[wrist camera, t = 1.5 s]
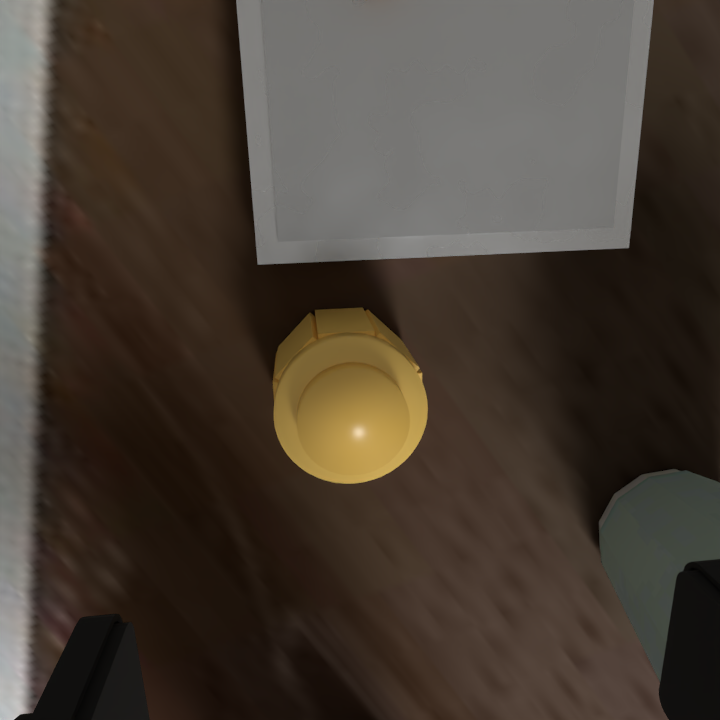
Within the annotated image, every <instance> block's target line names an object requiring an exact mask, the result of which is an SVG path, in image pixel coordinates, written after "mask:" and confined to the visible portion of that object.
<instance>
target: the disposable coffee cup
mask: <svg viewBox="0 0 720 720" xmlns="http://www.w3.org/2000/svg"><path fill="white" fill-rule="evenodd" d="M599 542H600V551H601V563H602V565H603V567H604V569H605V571H606V573H607V575H608V577H609V579H610V581H611V583H612V585H613V587H614V589H615V591H616V593H617V595H618V597H619V599H620V601H621V604H622V606H623V608H624V610H625V612H626V614H627V616H628V618H629V620H630V622H631V624H632V626H633V628H634V630H635V632H636V634H637V636H638V638H639V640H640V642H641V644H642V646H643V648H644V650H645V652H646V654H647V656H648V658H649V660H650V663H651V665H652V667H653V669H654V671H655V673H656V675H657V677H658V679H659V681H660V680H661V674H662V667H663V661H664V654H665V648H666V641H667V635H668V628H669V622H670V615H671V609H672V602H673V596H674V589H675V583H676V578H677V575H678V573H679V572H682V571H683V570H684V567H685V565H686V564H687V563H689V562H693V561H704V560H715V559H720V483H719V482H717V481H715V480H712V479H709V478H706V477H703V476H700V475H698V474H695V473H692V472H689V471H686V470H684V471H679V470H676V469H670V470H665V471H659V472H653V473H647V474H642V475H640V476H639V477H638V478H636V479H635V480H633V481H632V482H630V483H629V484H628V485H626V486H625V487H623V488H622V489H621V490H619V491H618V492H616V493H615V494H614V495H613V497H612V499H611V500H610V502H609V504H608V506H607V508H606V510H605V511H604V513H603V515H602V517H601V519H600V520H599Z"/></svg>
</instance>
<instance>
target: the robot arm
mask: <svg viewBox="0 0 720 720" xmlns="http://www.w3.org/2000/svg"><path fill="white" fill-rule="evenodd" d="M659 697H660V702H661V705H662V708H663V710H664V712H665V714H666V716H667V717H668V719H669V720H720V559H715V560H704V561H693V562H689V563H687V564H686V565H685V567H684V570H683V571H682V572H679V573H678V575H677V578H676V583H675V589H674V596H673V602H672V609H671V615H670V622H669V628H668V635H667V641H666V648H665V654H664V661H663V667H662V674H661V680H660V687H659ZM14 720H150V719H149V714H148V708H147V702H146V696H145V690H144V684H143V678H142V673H141V667H140V661H139V655H138V649H137V643H136V637H135V632H134V627H133V624H132V623H131V622H127V623H123V622H122V618H121V617H120V615H119V614H110V615H99V616H88V617H82V618H81V619H80V620H79V621H78V623H77V624H76V626H75V628H74V630H73V632H72V634H71V636H70V639H69V641H68V643H67V645H66V647H65V649H64V651H63V653H62V655H61V657H60V659H59V661H58V663H57V665H56V667H55V669H54V671H53V673H52V675H51V677H50V679H49V681H48V683H47V685H46V687H45V690H44V692H43V694H42V696H41V698H40V700H39V702H38V704H37V706H36V708H35V710H34V712H33V713H30V714H21V715H19V716H18V717H17V718H16V719H14Z"/></svg>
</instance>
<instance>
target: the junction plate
mask: <svg viewBox="0 0 720 720" xmlns="http://www.w3.org/2000/svg"><path fill="white" fill-rule="evenodd" d="M653 3H654V0H236V4H237V16H238V29H239V41H240V53H241V66H242V78H243V90H244V103H245V115H246V127H247V139H248V152H249V164H250V176H251V189H252V201H253V213H254V226H255V238H256V250H257V263H258V265H262V264H284V263H307V262H329V261H351V260H373V259H396V258H418V257H440V256H463V255H485V254H507V253H529V252H552V251H574V250H596V249H619V248H629V243H630V233H631V223H632V213H633V203H634V193H635V183H636V173H637V163H638V153H639V143H640V133H641V123H642V113H643V103H644V93H645V83H646V73H647V63H648V53H649V43H650V33H651V23H652V13H653Z"/></svg>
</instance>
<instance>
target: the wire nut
mask: <svg viewBox="0 0 720 720" xmlns="http://www.w3.org/2000/svg"><path fill="white" fill-rule="evenodd" d="M273 393H274V424H275V430H276V433H277V437H278V439H279V441H280V443H281V446H282V447H283V449H284V450H285V452H286V454H287V455H288V456H289V457H290V458H291V460H292V461H293V462H294V463H295V464H297V465H298V466H299V467H300V468H301V469H303V470H304V471H306V472H307V473H309V474H311V475H313V476H315V477H317V478H320V479H323V480H326V481H330V482H335V483H344V484H345V483H360V482H366V481H370V480H373V479H376V478H379V477H381V476H383V475H385V474H387V473H389V472H391V471H392V470H394V469H395V468H397V467H398V466H399V465H401V464H402V463H403V462H404V461H405V460H406V459H407V458H408V457H409V456H410V455H411V454H412V452H413V451H414V449H415V448H416V446H417V445H418V443H419V441H420V439H421V437H422V435H423V432H424V429H425V426H426V421H427V412H428V406H427V397H426V392H425V389H424V386H423V383H422V372H421V371H420V369H419V366H418V365H417V363H416V362H415V360H414V359H413V357H412V355H411V354H410V352H409V351H408V349H407V348H406V346H405V345H404V343H403V342H402V340H401V339H400V338H399V337H398V336H397V335H395V334H394V333H393V332H392V331H391V330H390V329H389V328H388V327H387V326H386V325H384V324H383V323H382V322H381V321H380V320H379V319H378V318H377V317H376V316H375V315H373V314H372V313H371V312H370V311H369V310H368V309H367V310H366V311H364V309H363V307H361V308H341V309H322V310H315V316H314V315H313V314H311V313H309V314H308V315H307V316H306V317H305V318H304V319H303V320H302V321H301V322H300V323H299V325H298V326H297V327H296V328H295V329H294V330H293V331H292V332H291V333H290V334H289V335H288V337H287V338H286V339H285V340H284V341H283V342H282V343H281V344H280V345H279V346H278V351H277V352H276V359H275V367H274V376H273Z"/></svg>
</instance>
